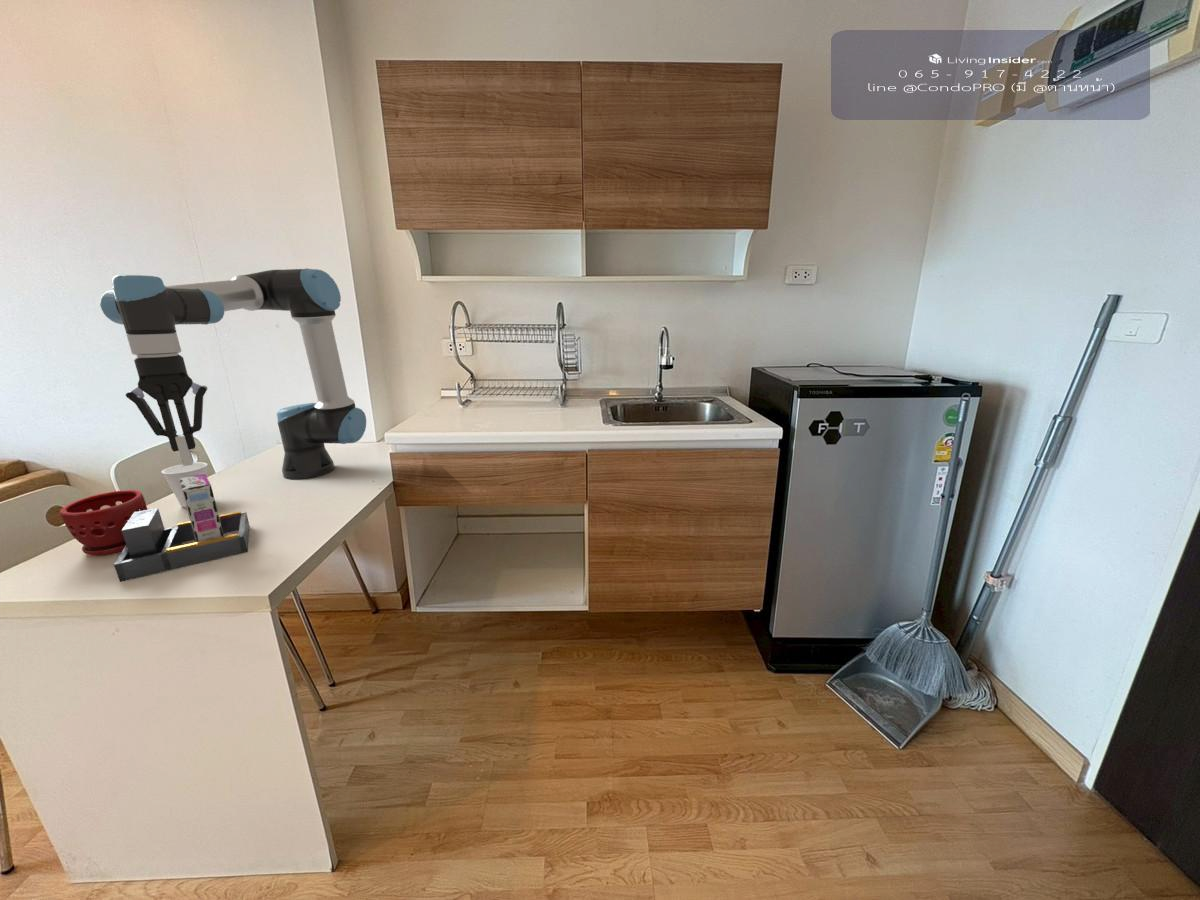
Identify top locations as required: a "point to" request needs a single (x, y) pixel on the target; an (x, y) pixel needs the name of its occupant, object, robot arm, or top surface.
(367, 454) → the top surface
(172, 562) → the tray
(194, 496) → the candy bar box
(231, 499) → the top surface
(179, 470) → the cup
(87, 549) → the plant pot
